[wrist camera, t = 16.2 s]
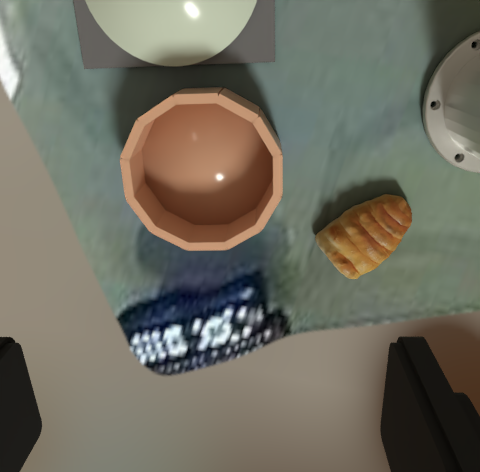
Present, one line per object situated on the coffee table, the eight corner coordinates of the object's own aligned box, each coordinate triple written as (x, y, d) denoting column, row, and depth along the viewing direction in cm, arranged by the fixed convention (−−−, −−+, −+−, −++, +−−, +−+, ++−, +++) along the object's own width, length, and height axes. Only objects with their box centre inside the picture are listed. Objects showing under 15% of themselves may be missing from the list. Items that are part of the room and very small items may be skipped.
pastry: (381, 173, 44) (391, 185, 41) (423, 220, 46) (437, 235, 43) (308, 235, 47) (312, 251, 44) (351, 277, 49) (357, 295, 45)
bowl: (280, 85, 41) (282, 90, 37) (280, 228, 47) (282, 249, 42) (127, 90, 42) (110, 96, 37) (145, 230, 48) (132, 251, 43)
